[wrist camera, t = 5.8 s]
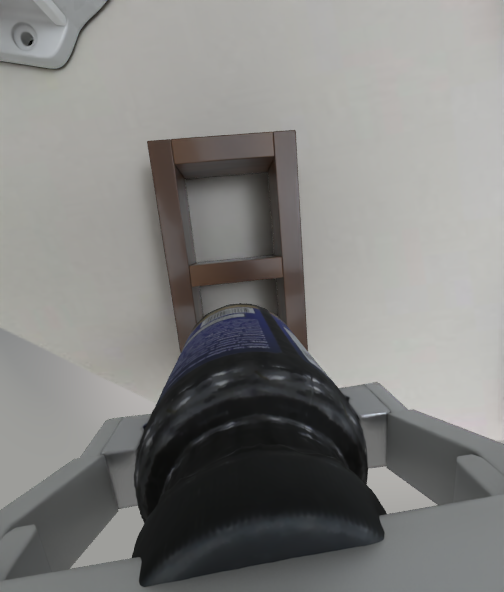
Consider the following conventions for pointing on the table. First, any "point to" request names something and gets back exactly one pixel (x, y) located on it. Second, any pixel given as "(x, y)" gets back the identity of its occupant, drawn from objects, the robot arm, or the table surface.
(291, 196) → the brown wooden caddy
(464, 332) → the table surface
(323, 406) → the pill bottle
